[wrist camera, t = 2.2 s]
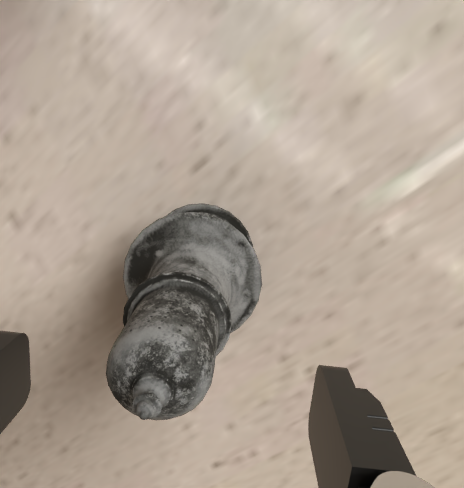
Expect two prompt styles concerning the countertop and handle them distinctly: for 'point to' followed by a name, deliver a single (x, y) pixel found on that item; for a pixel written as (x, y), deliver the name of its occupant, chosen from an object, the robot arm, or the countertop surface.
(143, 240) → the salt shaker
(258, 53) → the countertop surface
